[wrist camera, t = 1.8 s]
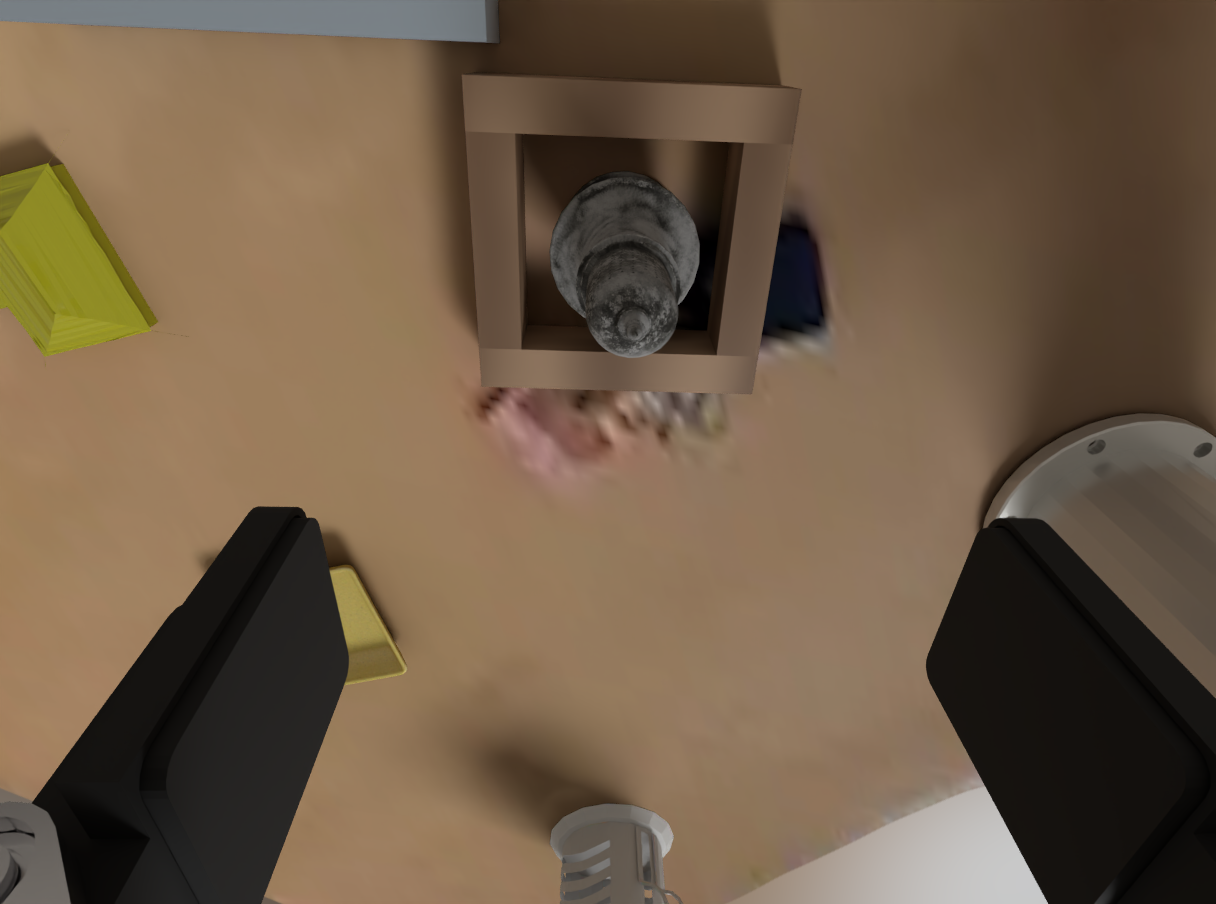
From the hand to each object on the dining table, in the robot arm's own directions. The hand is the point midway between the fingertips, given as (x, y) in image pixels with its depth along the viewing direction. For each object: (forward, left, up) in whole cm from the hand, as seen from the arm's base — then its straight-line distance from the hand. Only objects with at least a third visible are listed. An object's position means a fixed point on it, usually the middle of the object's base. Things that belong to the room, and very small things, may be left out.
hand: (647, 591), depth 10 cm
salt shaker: (0, 0, -23) cm, 23 cm away
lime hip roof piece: (+25, +2, -24) cm, 34 cm away
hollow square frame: (0, 0, -23) cm, 23 cm away
